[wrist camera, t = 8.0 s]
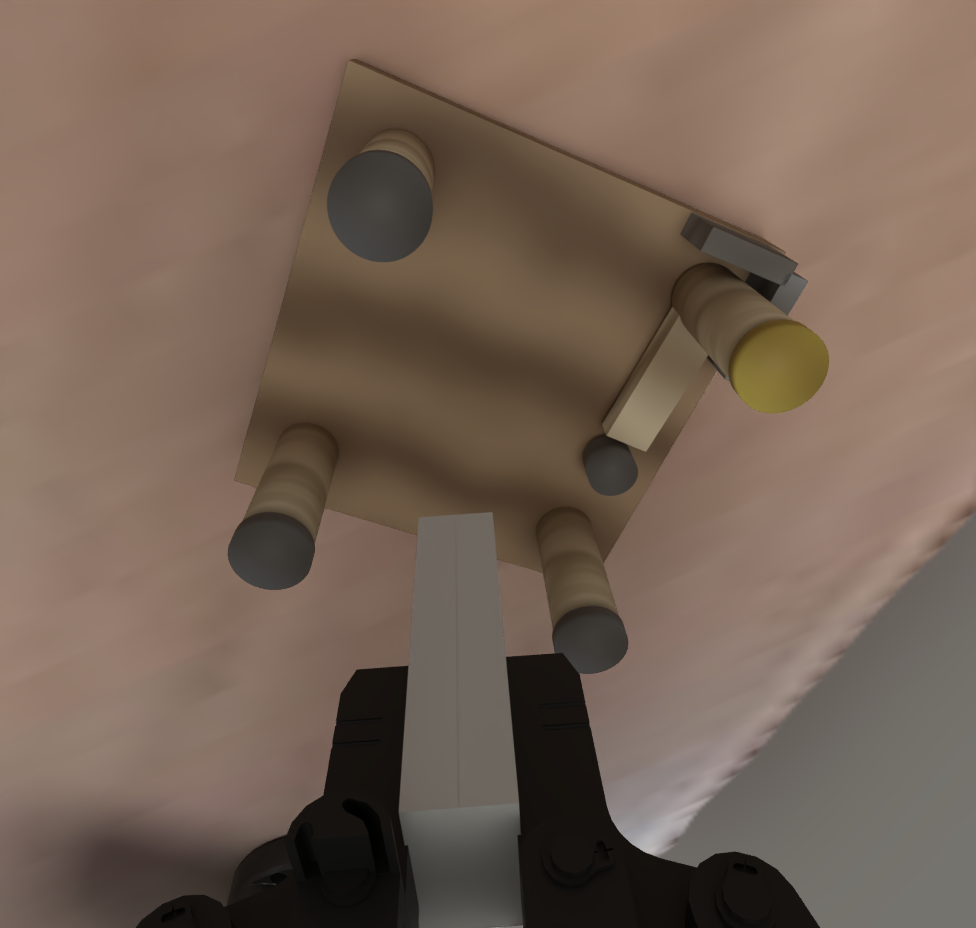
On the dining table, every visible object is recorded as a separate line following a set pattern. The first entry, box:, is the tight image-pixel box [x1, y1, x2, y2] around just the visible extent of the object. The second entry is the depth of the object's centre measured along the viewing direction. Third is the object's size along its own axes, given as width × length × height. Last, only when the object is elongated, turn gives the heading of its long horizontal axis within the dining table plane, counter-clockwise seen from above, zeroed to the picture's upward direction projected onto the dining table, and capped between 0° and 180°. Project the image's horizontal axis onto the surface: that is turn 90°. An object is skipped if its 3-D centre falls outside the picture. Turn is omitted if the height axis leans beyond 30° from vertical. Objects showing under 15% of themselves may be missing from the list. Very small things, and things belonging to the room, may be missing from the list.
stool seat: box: [228, 59, 808, 674], centre depth 32 cm, size 20×20×11 cm
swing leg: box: [583, 263, 829, 496], centre depth 31 cm, size 12×3×9 cm, turn 155°
